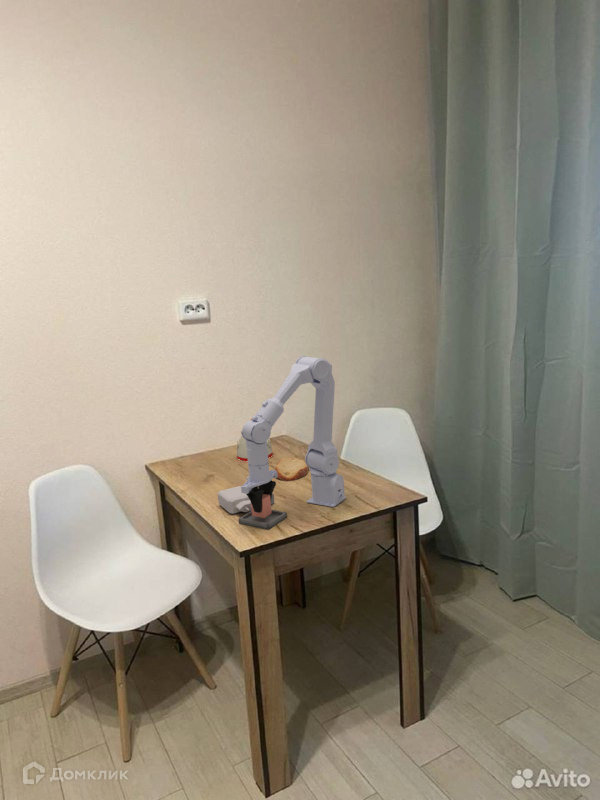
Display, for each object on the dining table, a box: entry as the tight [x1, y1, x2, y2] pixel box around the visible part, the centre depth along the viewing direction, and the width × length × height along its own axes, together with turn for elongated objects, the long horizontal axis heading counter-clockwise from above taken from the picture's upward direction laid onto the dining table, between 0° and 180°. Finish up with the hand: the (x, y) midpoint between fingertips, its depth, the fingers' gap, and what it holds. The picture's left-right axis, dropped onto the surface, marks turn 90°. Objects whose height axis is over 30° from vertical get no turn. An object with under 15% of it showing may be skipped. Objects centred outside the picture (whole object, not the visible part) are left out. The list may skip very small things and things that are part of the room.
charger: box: [217, 485, 252, 515], centre depth 174 cm, size 5×9×15 cm
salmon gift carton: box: [251, 494, 272, 518], centre depth 164 cm, size 4×4×6 cm
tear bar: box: [271, 493, 275, 506], centre depth 175 cm, size 1×6×3 cm, turn 148°
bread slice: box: [275, 456, 310, 482], centre depth 207 cm, size 18×18×4 cm
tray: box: [238, 509, 288, 531], centre depth 165 cm, size 10×9×2 cm
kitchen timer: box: [236, 418, 274, 461], centre depth 225 cm, size 14×14×15 cm
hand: (262, 509), depth 164 cm, fingers closed on salmon gift carton, 3 cm apart
